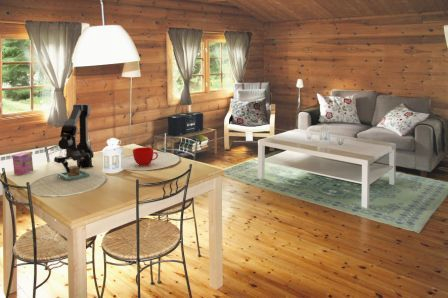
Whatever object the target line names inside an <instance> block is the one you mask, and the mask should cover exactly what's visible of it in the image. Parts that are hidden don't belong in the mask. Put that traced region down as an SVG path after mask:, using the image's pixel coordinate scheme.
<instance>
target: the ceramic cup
mask: <svg viewBox="0 0 448 298" xmlns="http://www.w3.org/2000/svg"><path fill="white" fill-rule="evenodd" d="M132 154H133V155H132V156H133V158H134V159H133V160H134V162H135V163H136V164H137V165H138V164H139V165H147V166H149V165H150V164H151V162H152V161H156V160H157V159H158V157H159V154H158V152H156V151H154V148H153V147H145V146H144V147H135V148H134V149H132ZM154 154H155V155H156V156H155V158H153V157H154ZM148 164H149V165H148ZM139 165H138V166H139Z"/></svg>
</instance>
